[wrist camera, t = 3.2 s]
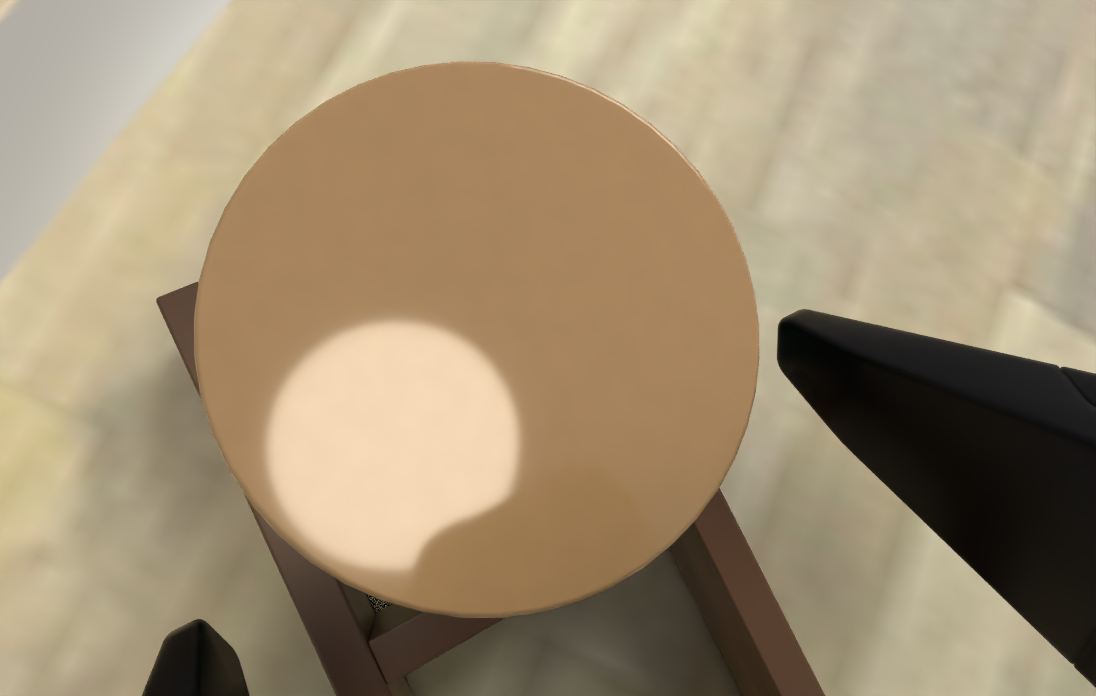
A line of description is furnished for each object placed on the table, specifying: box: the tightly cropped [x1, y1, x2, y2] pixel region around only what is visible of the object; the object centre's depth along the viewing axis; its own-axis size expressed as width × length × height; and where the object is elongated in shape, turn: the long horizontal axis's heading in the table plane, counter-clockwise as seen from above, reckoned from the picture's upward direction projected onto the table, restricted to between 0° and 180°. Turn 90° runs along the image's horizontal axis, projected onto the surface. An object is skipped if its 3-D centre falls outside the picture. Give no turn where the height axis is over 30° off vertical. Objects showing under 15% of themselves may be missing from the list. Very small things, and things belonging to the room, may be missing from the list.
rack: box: [157, 282, 825, 696], centre depth 17 cm, size 18×10×3 cm, turn 27°
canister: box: [194, 62, 759, 618], centre depth 13 cm, size 6×6×12 cm
